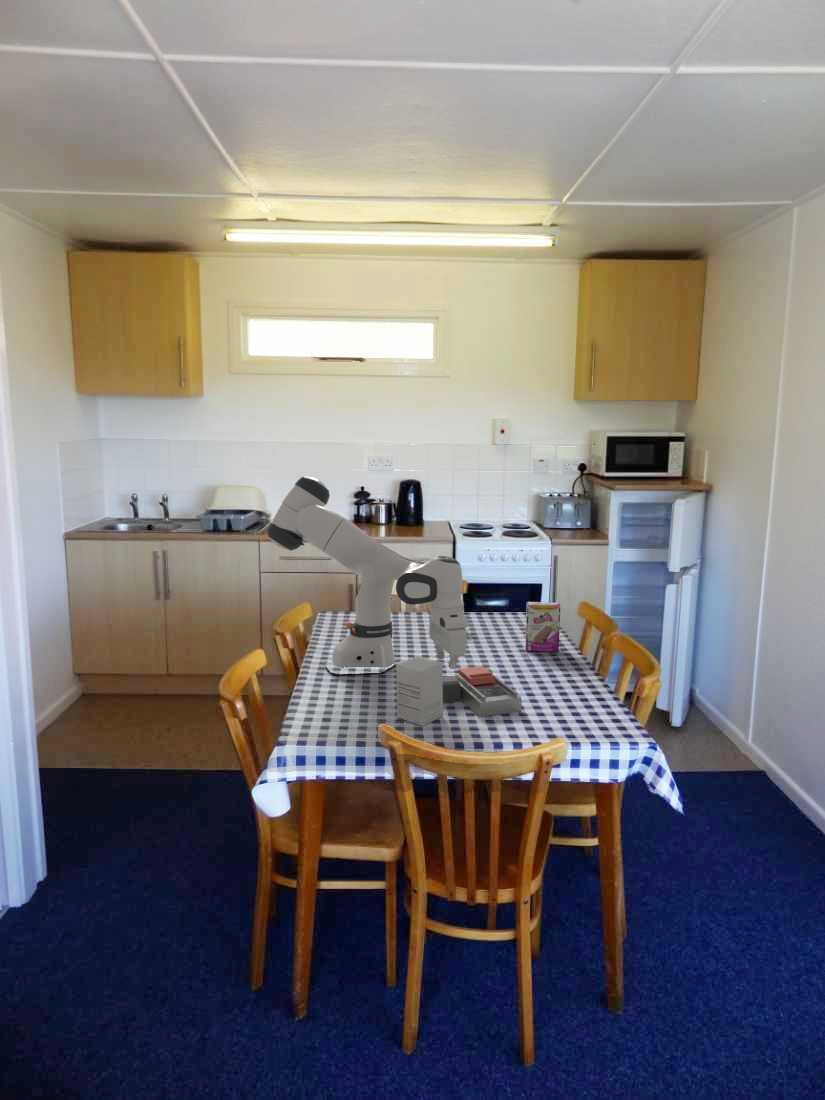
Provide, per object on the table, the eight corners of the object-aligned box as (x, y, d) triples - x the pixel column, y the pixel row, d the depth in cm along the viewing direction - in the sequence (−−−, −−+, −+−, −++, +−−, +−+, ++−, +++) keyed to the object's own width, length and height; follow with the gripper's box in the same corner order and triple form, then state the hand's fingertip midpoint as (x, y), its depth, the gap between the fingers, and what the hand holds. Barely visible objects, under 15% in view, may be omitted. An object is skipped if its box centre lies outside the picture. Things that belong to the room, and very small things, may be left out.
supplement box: (417, 708, 206) (417, 655, 203) (443, 716, 200) (443, 661, 198) (395, 718, 199) (395, 663, 196) (422, 726, 193) (422, 670, 191)
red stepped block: (470, 685, 211) (470, 676, 210) (458, 675, 219) (458, 666, 219) (495, 682, 213) (495, 673, 212) (482, 672, 221) (482, 664, 221)
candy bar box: (525, 652, 255) (526, 604, 252) (525, 648, 260) (526, 601, 257) (559, 653, 254) (560, 605, 251) (558, 648, 258) (559, 602, 256)
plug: (440, 703, 209) (440, 683, 208) (434, 697, 214) (434, 677, 213) (460, 701, 211) (460, 680, 210) (453, 695, 216) (454, 675, 215)
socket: (479, 716, 199) (480, 698, 198) (451, 690, 219) (451, 673, 218) (521, 711, 203) (521, 692, 202) (489, 685, 223) (489, 668, 222)
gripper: (423, 607, 217) (424, 653, 219) (448, 625, 198) (448, 675, 200) (444, 605, 219) (444, 651, 221) (470, 622, 199) (470, 673, 202)
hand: (446, 663), depth 210 cm, fingers open, 8 cm apart
